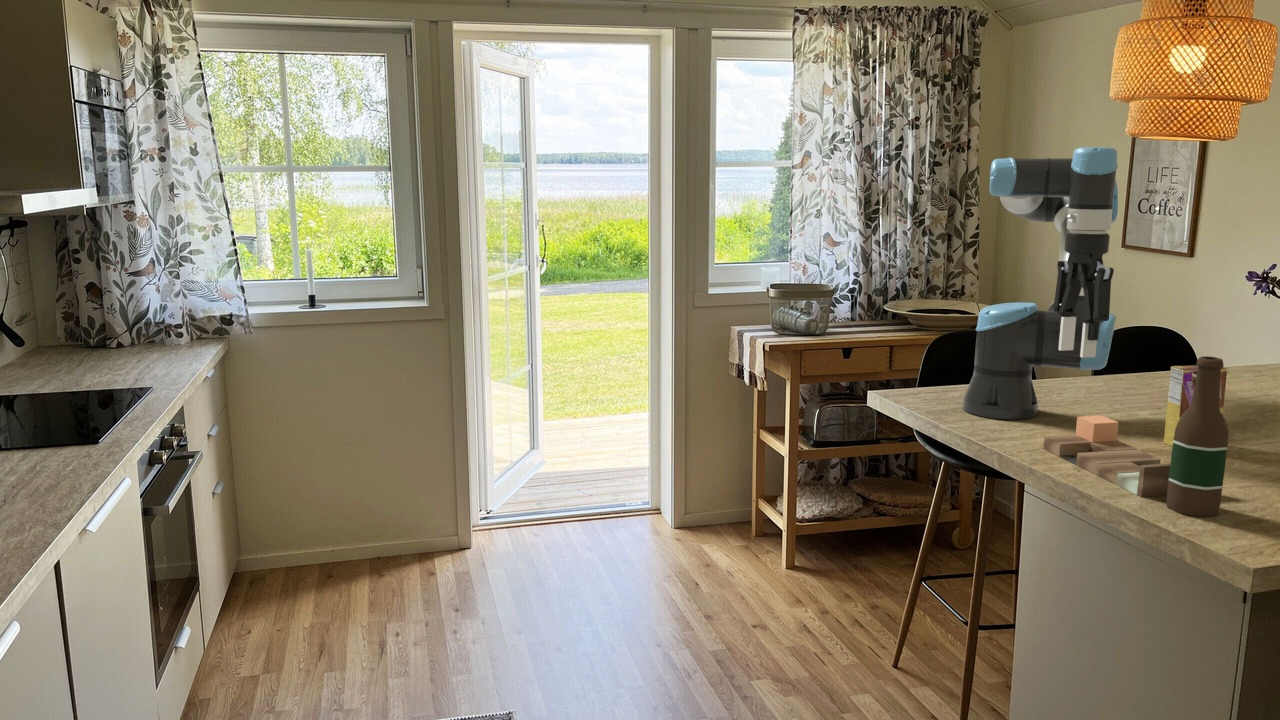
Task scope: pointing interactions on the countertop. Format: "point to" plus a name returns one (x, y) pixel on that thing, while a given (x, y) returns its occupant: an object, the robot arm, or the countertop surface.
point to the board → (1114, 463)
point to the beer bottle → (1200, 447)
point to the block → (1097, 428)
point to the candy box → (1184, 396)
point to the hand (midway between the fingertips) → (1076, 353)
